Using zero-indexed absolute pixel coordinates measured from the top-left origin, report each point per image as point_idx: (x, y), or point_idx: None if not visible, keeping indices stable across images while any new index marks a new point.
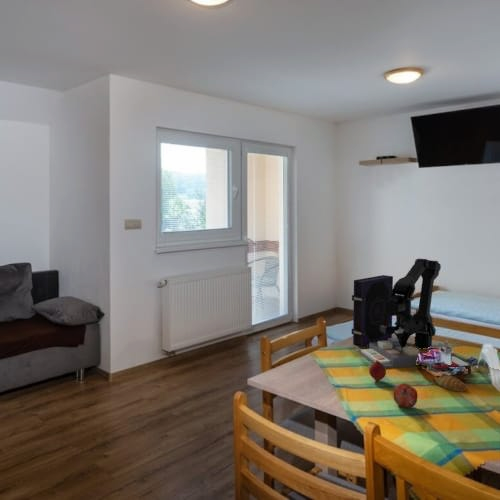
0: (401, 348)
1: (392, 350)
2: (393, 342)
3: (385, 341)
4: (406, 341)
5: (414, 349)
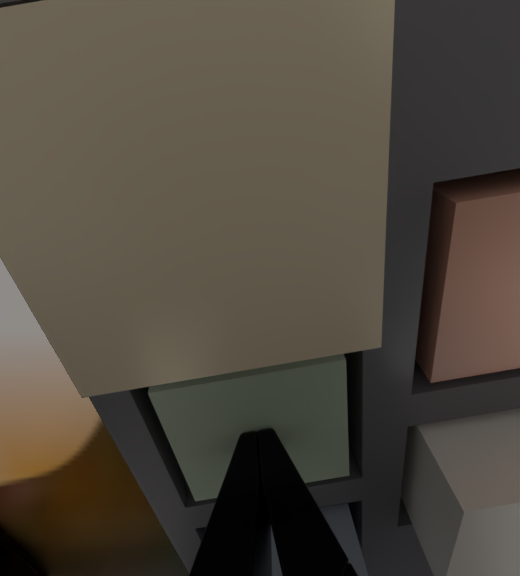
0: (292, 423)
1: (505, 339)
2: (356, 563)
3: (495, 571)
4: (208, 573)
5: (98, 42)
